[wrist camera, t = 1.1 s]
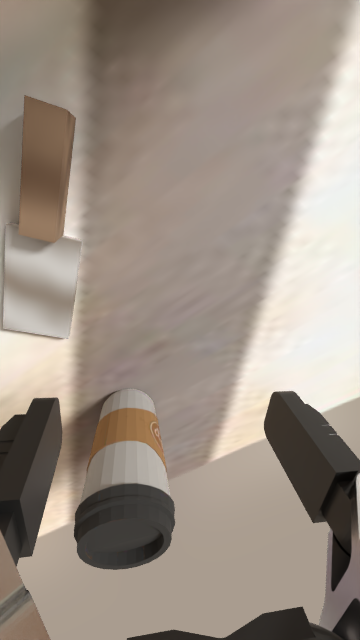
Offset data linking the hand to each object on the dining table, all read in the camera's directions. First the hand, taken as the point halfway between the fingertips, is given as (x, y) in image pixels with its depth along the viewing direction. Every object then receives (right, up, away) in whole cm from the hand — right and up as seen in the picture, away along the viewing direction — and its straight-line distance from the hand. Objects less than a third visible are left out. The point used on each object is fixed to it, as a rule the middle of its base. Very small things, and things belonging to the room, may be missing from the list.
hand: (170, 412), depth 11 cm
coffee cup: (-6, -7, +25) cm, 27 cm away
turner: (-11, +11, +15) cm, 21 cm away
